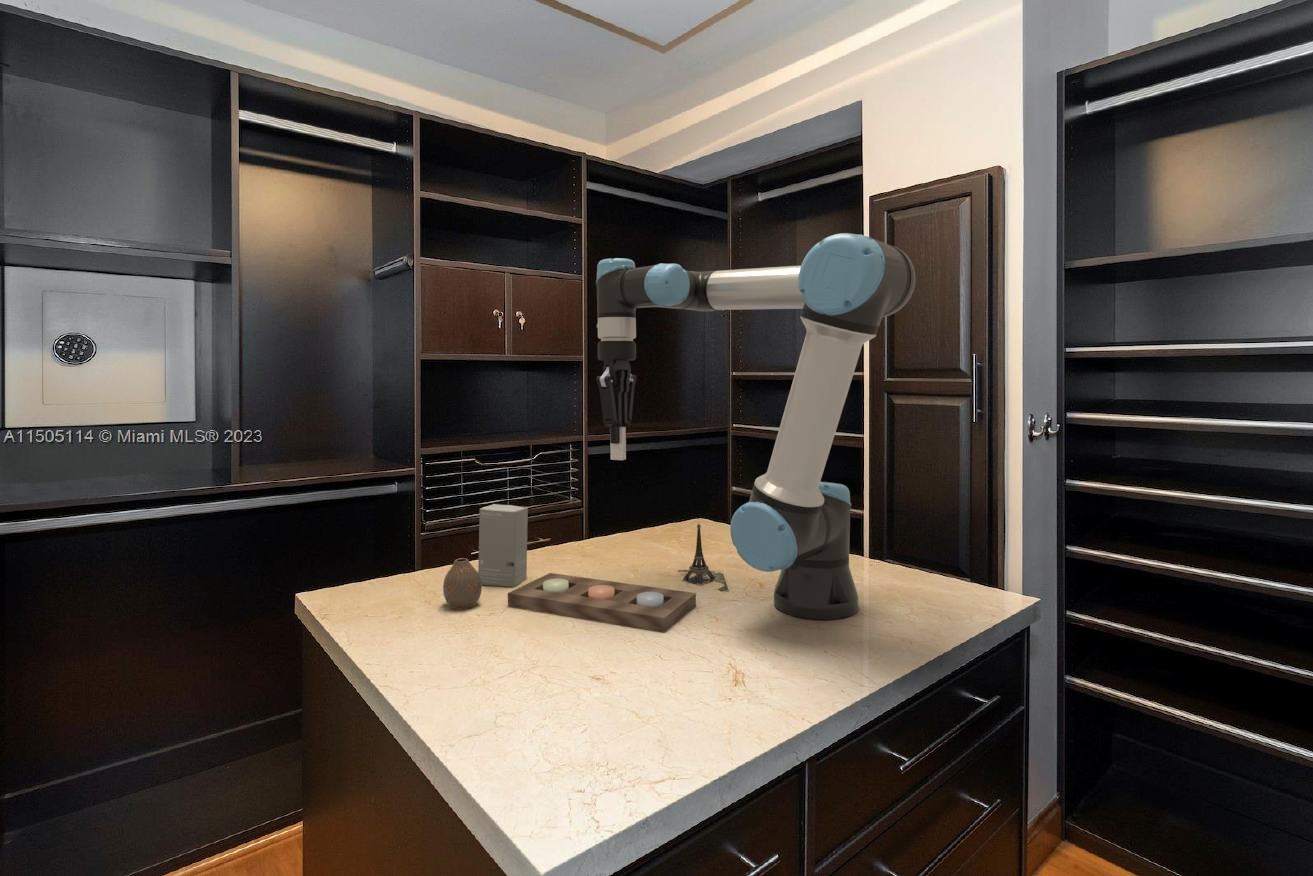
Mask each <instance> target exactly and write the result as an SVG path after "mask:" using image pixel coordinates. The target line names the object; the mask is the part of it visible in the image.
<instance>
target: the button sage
mask: <svg viewBox="0 0 1313 876" xmlns="http://www.w3.org/2000/svg"><path fill="white" fill-rule="evenodd" d="M567 589H569V586H568V580H565V579H550V580H546V581H544V582H543V590H544V591H551V592H557V593H561V592H563V591H565V590H567Z"/></svg>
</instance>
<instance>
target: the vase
mask: <svg viewBox="0 0 1313 876" xmlns="http://www.w3.org/2000/svg"><path fill="white" fill-rule="evenodd" d="M482 588H483V585H482V584H481V579H480V576H479V574H478V571H477V570H476V568H474V566H473V565H472V564H471V563H470V561H469V559H468V558H466V557H465V558H464V557H462V558H457V559H455V560H454V561H453V564H452V565H451V567H450V569H449V570H448V571H447V573H446V575H445V577H444V580H443V585H442V589H443V597H444V599H445V601H446V603H447V604H448V605H449V606H450V607H451V608H453V609H455V610H464V609H469V608H472V607H474V606H475V605H476V603H478V602H479V600H480V598H481V595H482Z"/></svg>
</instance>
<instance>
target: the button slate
mask: <svg viewBox="0 0 1313 876" xmlns="http://www.w3.org/2000/svg"><path fill="white" fill-rule="evenodd" d="M663 604H664V596H663V594H661V593H658V592H643V593H640V594H638V595H637V605H643V606H650V607H656V608H659V607H660V606H661V605H663Z"/></svg>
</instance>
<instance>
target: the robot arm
mask: <svg viewBox="0 0 1313 876" xmlns="http://www.w3.org/2000/svg"><path fill="white" fill-rule="evenodd" d="M596 269H597V270H596V280H595V286H596V303H597V307H596V308H597V309H596V313H597V324H596V328H597V338H598V339H600V341H599V342H598V343H597V359H598V360H599V361H603V362H604V363H603V367H602V372H603V373H602V375H601V376H600V375H598V376H596V383H597V387H598V388H599V389H598V390H599V397H600V398H599V399H600V404H601V405H600V406H601V413H602V419H603V420H602V421H603V424H604V427H605V428H609V432H610V433H609V439H610V440H609V441H610V444H609V445H610V449H609V450H610V460H613V461H624V460H627V433H626V432H627V427H631V425H632V423H631V422H632V419H633V418H632V417H633V409H634V396H635V387H636V383H637V379H638V377H637V375H635V374H634V375H633V374H632V373H631V370H632V369H631V365H630V364H631V362H630V361H635V360H636V359H637V343H636V342H635V341H634V340H635V339H636V338H637V327H636V326H637V323H636V322H637V320H636V319H637V318H636V317H637V315H636V313H637V312H636V311H637V309H641V308H642V309H643V308H666V309H675V310H687V311H688V310H689V311H695V312H700V313H701V312H702V313H703V312H704V313H708V312H714V311H723V310H724V311H727V310H729V311H732V310H733V311H734V310H786V309H787V310H792V309H793V310H795V309H797V310H799V309H801V313H800V318H799V319H801V321H802V324H803V325H804V327H805V330H806V334H805V337H804V341H803V344H802V347H801V350H800V354H799V359H798V362H797V365H796V369H795V372H794V376H793V380H792V384H791V387H790V391H789V393H788V397H787V401H786V404H785V407H784V412H783V415H782V418H781V421H780V425H779V429H778V432H777V435H776V438H775V443H774V446H773V450H772V454H771V456H770V460H769V464H768V467H767V469H766V470H767V471H766V472H765V473H764V474H762V475H760V476H758V477H756V479H754V480H755V481H754V483H753V486H752V490H751V494H750V497H749V500H748V502H746V503H744V504H742V505H740V506H739V508H737V509H736V511H735V512H734V514H732V518H731V521H730V529H729V530H730V531H729V532H730V539H731V542H732V544H733V546H734V547H735V549H736V552H737V554H738V555H739V557H740V558H741V559H742V560H743V561H744V562H745V563H746V564H747V565H749V567H751V568H753V569H755V570H757V571H761V572H765V573H766V572H767V573H768V572H769V573H771V572H775V571H780V573H779V576H778V579H777V581H776V584H775V587H774V591H773V605H774V607H775V608H776V609H778V610H779V611H780V612H781V613H785V614H787V615H790V616H793V617H798V618H801V619H802V618H804V619H812V620H836V619H843V618H847V617H851V616H852V615H855V614H856V613H857V612H858V611H859V594H858V591H857V588H856V584H855V582H854V578H853V575H852V572H851V569H850V534H851V533H850V532H851V507H852V502H851V492H850V490H849V488H848V487H847V485H844V484H842V483H835V482H827V481H821V480H822V477H823V474H824V470H825V468H826V464H827V460H828V459H829V455H830V451H831V448H832V444H833V441H834V438H835V435H836V431H837V429H838V425H839V422H840V419H841V416H842V413H843V409H844V406H845V403H846V399H847V397H848V393H849V390H850V386H851V383H852V381H853V376H854V373H855V370H856V367H857V364H858V361H859V357H860V354H861V351H862V349H863V348H862V347H863V345H864V344H865V343H867V342H869V341H870V340H872V339H874V338H876V337H877V334H878V330H879V328H880V324H881V321H882V319H883V318H885V317H886V318H887V317H889V316H892V315H893V314H895V313H897V312H898V311H900V310H901V309H902V308H904V307H905V306H906V304H907V303H908V302H909V300H910V299H911V297H912V296H913V293H914V291H915V287H916V271H915V267H914V264H913V262H912V260H911V259H910V258H909V255H907V254H906V253H905V252H904V251H903V250H902V249H900V248H899V247H897V246H895V245H891V244H889V243H885V242H882V241H880V240H877V239H874V238H872V237H870V236H867V235H866V236H865V235H864V234H861V233H860V234H855V233H849V232H844V233H843V232H841V233H835V234H833V235H830V236H827V237H824V238H823V239H822V240H821V241H819V242H817V243H816V244H815V245H814V246H812V247H811V249H810V250H809V251H808V252H807V254H806V255H805V256H804V259H803V260H802V262H801V265H789V266H788V265H787V266H775V267H773V266H771V267H759V268H758V267H756V268H741V269H740V268H739V269H727V270H726V269H725V270H711V271H710V270H709V271H708V270H707V271H693V270H687V269H684V268H683V267H682V266H681V265H680V264H678V263H664V262H663V263H658V264H655V265H648V266H647V265H646V266H640V267H636V264H635V261H633V260H632V259H630V258H624V257H623V258H622V257H621V258H619V257H615V258H604V259H601V260H600V261H599V262H598V264H597V267H596Z"/></svg>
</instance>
